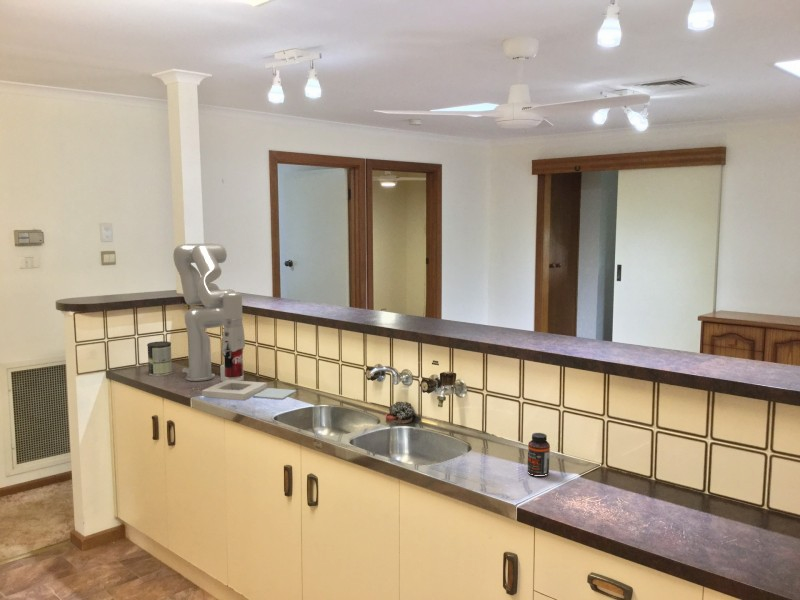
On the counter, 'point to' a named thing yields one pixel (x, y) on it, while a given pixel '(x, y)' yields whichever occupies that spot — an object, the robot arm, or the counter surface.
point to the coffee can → (159, 358)
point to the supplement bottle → (538, 454)
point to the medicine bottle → (223, 378)
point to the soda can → (235, 365)
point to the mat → (275, 393)
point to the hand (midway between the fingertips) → (233, 364)
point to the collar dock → (244, 393)
